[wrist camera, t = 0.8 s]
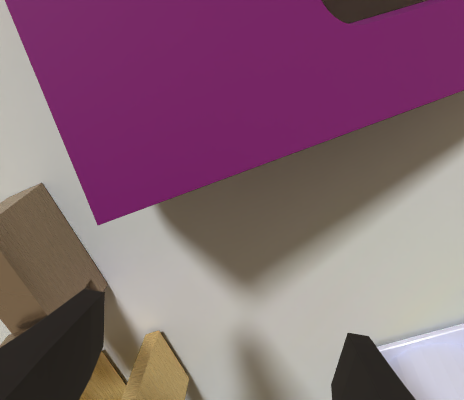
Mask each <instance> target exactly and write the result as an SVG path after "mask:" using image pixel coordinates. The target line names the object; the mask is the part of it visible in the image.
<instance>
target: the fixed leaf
mask: <svg viewBox="0 0 464 400" xmlns="http://www.w3.org/2000/svg"><path fill="white" fill-rule="evenodd" d="M106 286H107V282H106V281H105V279H104V278H103V276H102V275H101V273H100V271H99V270H98V268H97V267H96V265H95V264H94V262H93V261H92V259H91V258H90V256H89V255H88V253H87V252H86V250H85V248H84V247H83V245H82V244H81V242H80V241H79V239H78V238H77V236H76V235H75V233H74V232H73V230H72V228H71V227H70V225H69V224H68V222H67V221H66V219H65V218H64V216H63V215H62V213H61V212H60V210H59V208H58V207H57V205H56V204H55V202H54V201H53V199H52V198H51V196H50V195H49V193H48V192H47V190H46V189H45V187H44V185H43V184H42V183H40V184H38V185H36V186H33V187H31V188H29V189H27V190H24V191H22V192H20V193H18V194H15V195H13V196H11V197H8V198H7V199H6V200H4V201H3V202H1V203H0V319H1V320H2V322H3V323H4V324H5V325H6V327H7V328H8V329H9V330H10V332H11V333H12V334H10V335H8V336H7V337H6V339H5V340H4V341H3V342H2V344H1V345H0V347H2V346H3V345H5V344H7V343H8V342H10V341H11V340H13V339H14V338H16V337H17V336H19V335H21V334H22V333H24V332H25V331H26V330H28V329H29V328H31V327H32V326H34V325H35V324H36V323H38V322H39V321H41V320H42V319H44V318H45V317H46V316H48V315H49V314H50V313H52V312H53V311H55V310H56V309H57V308H59V307H60V306H61V305H63V304H64V303H65V302H67V301H68V300H69V299H71V298H72V297H73V296H75V295H76V294H78V293H79V292H80V291H82V290H83V289H88V290H94V291H100V292H103V291H104V289H105V288H106Z"/></svg>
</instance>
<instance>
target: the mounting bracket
mask: <svg viewBox="0 0 464 400" xmlns="http://www.w3.org/2000/svg"><path fill="white" fill-rule="evenodd" d="M5 2H6V4H7V7H8V9H9V11H10V14H11V16H12V19H13V21H14V24H15V26H16V28H17V31H18V33H19V36H20V38H21V40H22V43H23V45H24V48H25V50H26V53H27V55H28V57H29V60H30V62H31V65H32V67H33V70H34V72H35V74H36V77H37V79H38V82H39V84H40V86H41V89H42V91H43V94H44V96H45V99H46V101H47V103H48V106H49V108H50V111H51V113H52V116H53V118H54V120H55V123H56V125H57V128H58V130H59V133H60V135H61V137H62V140H63V142H64V145H65V147H66V149H67V152H68V154H69V157H70V159H71V162H72V164H73V166H74V169H75V171H76V174H77V176H78V179H79V181H80V183H81V186H82V188H83V191H84V193H85V195H86V198H87V200H88V203H89V205H90V208H91V210H92V212H93V215H94V217H95V220H96V222H97V225H100V224H103V223H106V222H108V221H111V220H114V219H116V218H119V217H122V216H125V215H127V214H130V213H133V212H135V211H138V210H141V209H144V208H146V207H149V206H152V205H154V204H157V203H160V202H162V201H165V200H168V199H171V198H173V197H176V196H179V195H181V194H184V193H187V192H190V191H192V190H195V189H198V188H200V187H203V186H206V185H209V184H211V183H214V182H217V181H219V180H222V179H225V178H227V177H230V176H233V175H236V174H238V173H241V172H244V171H246V170H249V169H252V168H255V167H257V166H260V165H263V164H265V163H268V162H271V161H274V160H276V159H279V158H282V157H284V156H287V155H290V154H292V153H295V152H298V151H301V150H303V149H306V148H309V147H311V146H314V145H317V144H320V143H322V142H325V141H328V140H330V139H333V138H336V137H339V136H341V135H344V134H347V133H349V132H352V131H355V130H357V129H360V128H363V127H366V126H368V125H371V124H374V123H376V122H379V121H382V120H385V119H387V118H390V117H393V116H395V115H398V114H401V113H404V112H406V111H409V110H412V109H414V108H417V107H420V106H422V105H425V104H428V103H431V102H433V101H436V100H439V99H441V98H444V97H447V96H450V95H452V94H455V93H458V92H460V91H463V90H464V0H428V1H424V2H421V3H418V4H414V5H411V6H407V7H404V8H401V9H397V10H394V11H390V12H387V13H384V14H380V15H377V16H373V17H370V18H367V19H363V20H360V21H356V22H353V23H350V24H347V23H344V22H342V21H340V20H339V19H337V18H336V17H334V16H333V15H332V14H331V13H330V12H329V11H328V10H327V8H326V7H325V6H324V4H323V2H322V0H5Z"/></svg>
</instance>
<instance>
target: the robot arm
mask: <svg viewBox="0 0 464 400" xmlns="http://www.w3.org/2000/svg"><path fill="white" fill-rule="evenodd" d="M104 293H105V292H100V291H94V290H88V289H83V290H82V291H80V292H79V293H78V294H76V295H75V296H73V297H72V298H71V299H69V300H68V301H67V302H65V303H64V304H63V305H61V306H60V307H59V308H57V309H56V310H55V311H53V312H52V313H50V314H49V315H48V316H46V317H45V318H44V319H42V320H41V321H39V322H38V323H36V324H35V325H34V326H32V327H31V328H29V329H28V330H26V331H25V332H24V333H22V334H21V335H19V336H17V337H16V338H14V339H13V340H11V341H10V342H8V343H7V344H5V345H3V346H2V347H0V400H79V399H80V397H81V395H82V393H83V392H84V390H85V388H86V386H87V384H88V382H89V380H90V378H91V376H92V374H93V371H94V369H95V366H96V364H97V361H98V359H99V356H100V353H101V351H102V348H103V343H104ZM331 387H332V400H464V323H463V324H459V325H455V326H452V327H448V328H444V329H441V330H437V331H433V332H429V333H426V334H422V335H418V336H415V337H411V338H407V339H404V340H400V341H396V342H392V343H389V344H385V345H381V346H378V347H376V345H375V344H374V343H373V341H372V340H371V339H370V337H369V336H364V335H358V334H352V333H348V334H347V337H346V340H345V343H344V346H343V349H342V353H341V356H340V359H339V362H338V365H337V368H336V371H335V374H334V378H333V381H332V384H331Z"/></svg>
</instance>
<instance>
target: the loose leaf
mask: <svg viewBox="0 0 464 400" xmlns="http://www.w3.org/2000/svg"><path fill="white" fill-rule="evenodd" d="M188 381H189V377H188V376H187V374H186V373H185V371H184V369H183V368H182V366H181V365H180V363H179V362H178V360H177V358H176V357H175V355H174V354H173V352H172V350H171V349H170V347H169V346H168V344H167V342H166V341H165V339H164V338H163V336H162V334H161V333H160V331H155V332H152V333H149V334H146V335H145V338H144V340H143V343H142V346H141V348H140V351H139V354H138V356H137V359H136V362H135V364H134V367H133V369H132V372H131V375H130V377H129V380H128V383H127V385H125V383H124V382H123V380H122V379H121V378H120V376H119V375H118V373H117V372H116V371H115V369H114V368H113V366H112V365H111V363H110V362H109V361H108V359H107V358H106V356H105V355H104V354H103V352H102V351H101V353H100V356H99V359H98V361H97V364H96V366H95V369H94V371H93V374H92V376H91V378H90V380H89V382H88V384H87V386H86V388H85V390H84V392H83V393H82V395H81V397H80V399H79V400H185V395H186V391H187V386H188Z"/></svg>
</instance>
